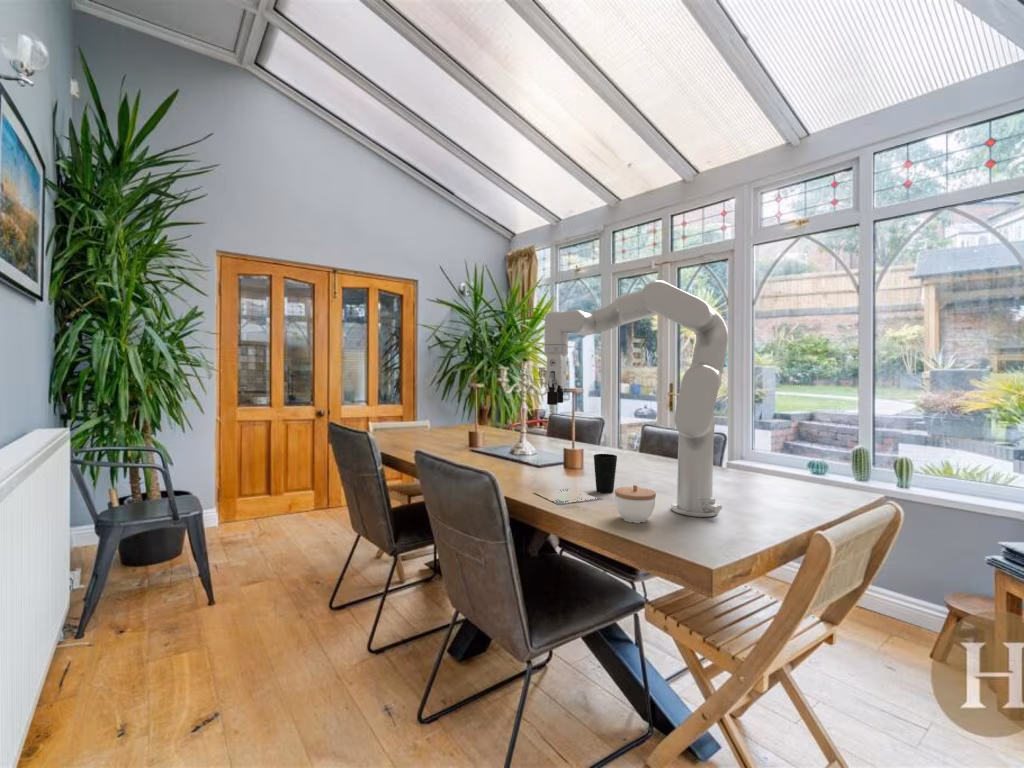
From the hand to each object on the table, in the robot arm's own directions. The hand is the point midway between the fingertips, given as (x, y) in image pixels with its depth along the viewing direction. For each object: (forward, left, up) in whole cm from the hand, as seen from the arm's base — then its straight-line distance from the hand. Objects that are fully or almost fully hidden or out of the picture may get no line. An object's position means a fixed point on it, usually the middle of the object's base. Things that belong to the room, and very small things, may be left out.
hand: (555, 403), depth 162 cm
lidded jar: (-33, -5, -30) cm, 45 cm away
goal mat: (-4, -2, -29) cm, 30 cm away
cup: (-4, -17, -30) cm, 34 cm away
